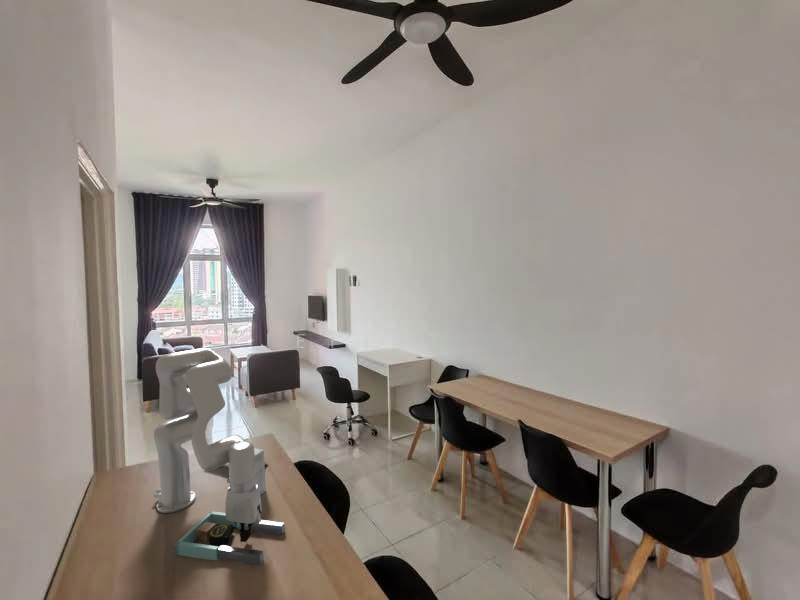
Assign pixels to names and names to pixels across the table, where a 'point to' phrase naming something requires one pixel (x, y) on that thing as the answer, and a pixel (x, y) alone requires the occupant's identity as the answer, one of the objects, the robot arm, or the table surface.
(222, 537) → the tape measure
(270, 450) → the table surface
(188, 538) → the u shaped frame
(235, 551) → the slot rails
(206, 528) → the tan cardboard cube
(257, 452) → the supplement box
